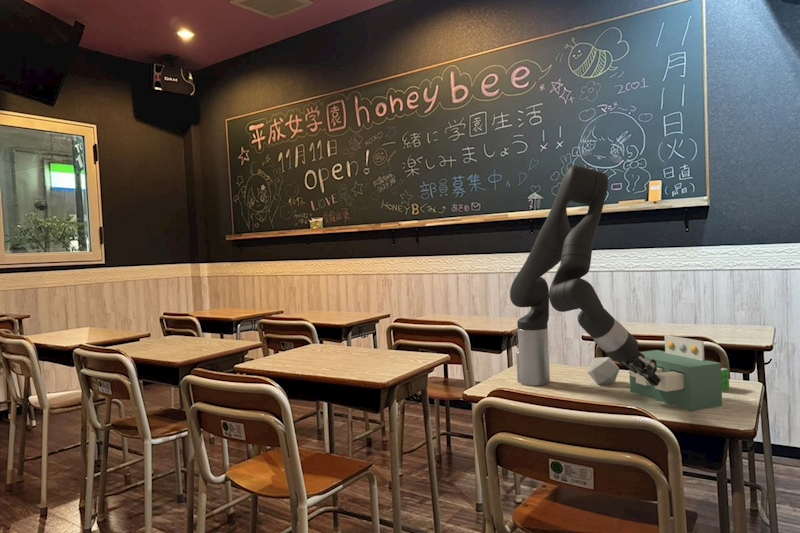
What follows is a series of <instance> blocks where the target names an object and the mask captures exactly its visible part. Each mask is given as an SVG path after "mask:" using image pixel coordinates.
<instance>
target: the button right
mask: <svg viewBox="0 0 800 533" xmlns="http://www.w3.org/2000/svg"><path fill="white" fill-rule="evenodd" d="M655 374H656V375H657V376H658V377H659V378H660V380H661V381H660V382H659V384H658V385H657V386H655V389H659V390H662V391H666V392H667V391H674V390H680V389H685V377H684V374H683V373H679V372H675V371H670V372H663V373H655Z"/></svg>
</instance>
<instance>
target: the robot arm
mask: <svg viewBox="0 0 800 533" xmlns="http://www.w3.org/2000/svg"><path fill="white" fill-rule="evenodd" d="M608 187H609V177H608V174H606V173H604V172H601V171H599V170H595V169H591V168H588V167H584V166H580V165H571V166H570V167H568V169H567V170H566V172H565V174H564V176H563V178H562V180H561V182H560V185H559V188H558V191H557V193H556V196H555V198H554V202H553V203H552V206H551V208H550V211H549V213H548V215H547V217H546V219H545V221H544V223H543V225H542V227H541V228H540V231H539V233H538V234H537V236H536V238H535V241H534V244H533V246H532V248H531V250H530V253H529V254H528V256H527V258H526V260H525V262H524V263H523V265H522V267H521V269H519V271H518V273H517V274H516V276H515V278H514V279H513V281H512V283H511V286H510V290H509V297H510V301H511V303H512V305H513V306H514V307H517V308H530V310H529V311H528V313H527V314H525V315H524V316H522V317H520V318H519V319H517V323H516V324H517V341H518V342H517V343H518V351H517V352H515V353H516V355H515V357H516V375H517V376H516V377H517V378H516V379H517V382H518V383H520V384H521V385H525V386H531V387H532V386H535V387H536V386H545V385H549V384H550V383H551V378H550V353H549V352H550V351H549V332H548V331H549V330H548V323H549V319H550V305H551V306H552V308H553V309H554V310H555V311H557V312H561V313H566V312H570V311H574V310H578V309H579V310H581V311H579V313H578V315H577V322H578V324H579V326H580V327H581V328H582V329H583V331H585V332H586V333H587V334H588V335H589V336H590V337H591V339H593V341H594V342H595V344H597V346H598V347H599V348H600V349H601V350H602V351H603V352H604V353H605V354H607V357H610V358H611V360H612V361H613V362H614V363H619V364H620V365H622V366H623V367H625V368H626V369H628V370H631V371H632V372H634V373H636V374H637V373H638V374H639V375H640V376H643V377H644V378H645V379H646V380H647V381H648V382H649V383H650V384H651V385H654V386H657V385H658V384H659V382H660V381H661V380H660V378H659V377H658V376H657V375H656V374H655V372H656V371H657V362H656V361H655V360H653V359H652V360H650V361H649V360H647V359H646V358H645V356H644V355H643V354H642V352H643V351H640V350H639V343H638V340H637V339H636V338H635V337H634V336H633V335H632V334H631V333H630V331H628V329H626V327H625V326H623V324H621V323H620V322H619V321H618V320H617V319H616V318H615V317H613V316H612V315H611V313H609V312H608V311H607V310H606V309H605V307H604V306H603V304H602V302H601V300H600V298H599V296H598V295H597V294H598V293H597V292H596V291H595V288H594V287H593V285H592V284H591V283H590V282H589V281H587V280H586V279H584V278H583V277H585V276H586V275H587V274H588V273H589V271H590V269H591V262H592V255H593V254H592V253H593V245H594V242H595V237H596V233H597V229H598V226H599V223H600V219H601V215H602V213H603V209H604V205H605V200H606V197H607V193H608V189H609V188H608ZM570 202H572V203H575V204H576V203H577V204H580V205H585V206H588V210H587V213H586V214H585V216H584V217H583V218H582V220H580V222H578V223H577V224H576V225H575V226H574V227H573V228H572V229H571V226H570V222H569V218H568V212H567V210H568V208H567V206H568V204H569V203H570ZM558 264H559V266H558V268H557V270H556V272H555V275H554V277H553V279H552V281H551V283H550V287H549V285H548V282H547V281H546V279H545V278H544V277H542V276H543V275H545V274H546V273H548V272H549V271H550V270H552V269H553V268H554V267H555V266H557V265H558Z"/></svg>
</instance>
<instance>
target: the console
mask: <svg viewBox="0 0 800 533" xmlns="http://www.w3.org/2000/svg"><path fill="white" fill-rule="evenodd" d="M704 343H705V342H704V340H698V339H692V338H687V337H680V336H675V335H674V336H673V335H668V334H665V335H664V350H660V349H654V350H645V351H641V352H642V354H643V355H644V356H645V358H646V359H647V360H649V361H650V360H652V359H653V360H655V361H656V362H657V367H659V368H663V369H664V372H670V371H675V372H679V373H683V374H684V377H685V389H680V390H674V391H667V392H666V391H662V390H659V389H655V386H654V385H647V386H645V385H642V384H639V383H636V377H633V376H630V375H629V392H631V393H634V394H637V395H640V396H643V397H646V398H649V399H652V400H655V401H659V402H661V403H662V402H663V403H665V404H668V405H671V406H674V407H676V408H679V409H683V410H686V411H690V412H695V411H700V410H706V409H711V408H718V407H722V406H723V391H722V381H721V368H722V362H716V361H713V360H708V359H705V348H704ZM628 370H629V369H628ZM629 374H630V370H629Z"/></svg>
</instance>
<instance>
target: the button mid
mask: <svg viewBox="0 0 800 533" xmlns="http://www.w3.org/2000/svg"><path fill="white" fill-rule="evenodd" d="M663 372H664V369H663V368H659V367H657V371H656V372H655V373H663ZM636 383H639V384H642V385H645V386H647V385H651V384H650V383H649V382H648V381H647V380H646V379H645V378H644V377H643V376H640V375H639V374H638V373H637V374H636Z"/></svg>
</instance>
